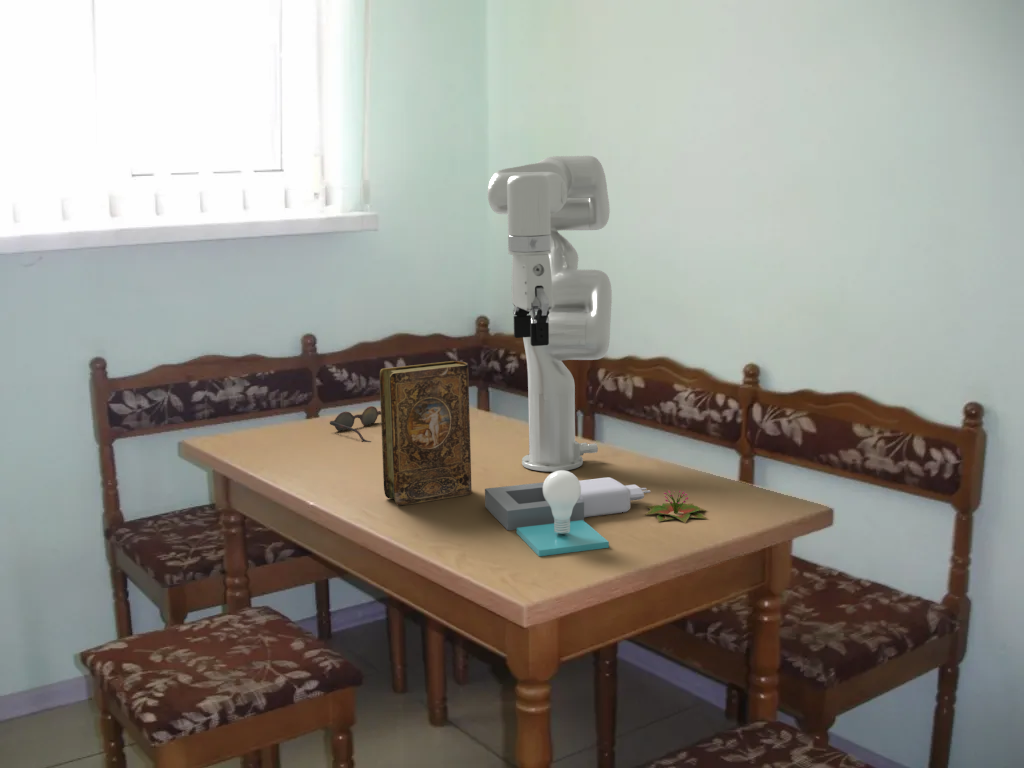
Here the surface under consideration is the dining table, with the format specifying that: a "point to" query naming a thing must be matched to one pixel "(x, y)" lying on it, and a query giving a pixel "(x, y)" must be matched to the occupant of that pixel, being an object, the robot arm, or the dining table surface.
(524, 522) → the frame
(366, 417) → the eyeglasses
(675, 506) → the lily flower
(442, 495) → the book
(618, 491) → the charger
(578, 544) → the plate
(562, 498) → the lightbulb
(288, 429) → the dining table surface
